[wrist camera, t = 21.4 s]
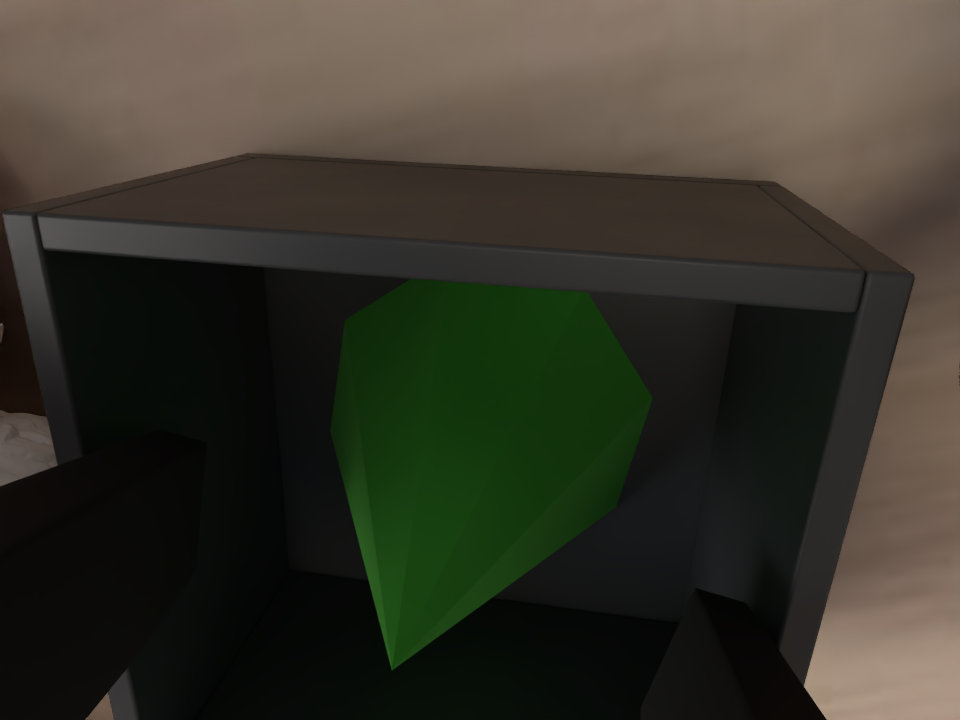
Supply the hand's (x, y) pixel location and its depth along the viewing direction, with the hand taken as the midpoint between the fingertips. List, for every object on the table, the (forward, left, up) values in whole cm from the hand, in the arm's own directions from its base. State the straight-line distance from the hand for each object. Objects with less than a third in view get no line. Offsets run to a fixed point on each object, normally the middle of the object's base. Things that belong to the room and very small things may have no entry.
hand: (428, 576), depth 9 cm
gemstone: (0, 0, -5) cm, 5 cm away
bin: (0, 0, -5) cm, 5 cm away
